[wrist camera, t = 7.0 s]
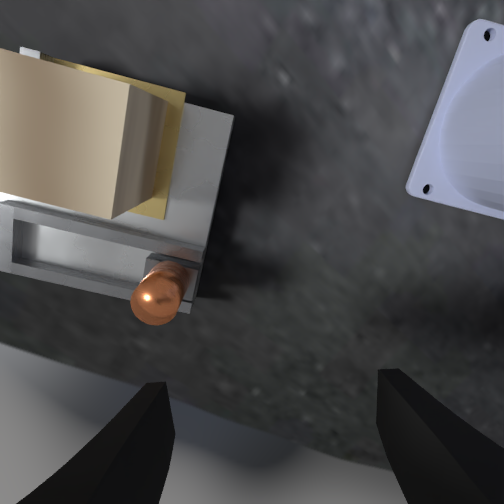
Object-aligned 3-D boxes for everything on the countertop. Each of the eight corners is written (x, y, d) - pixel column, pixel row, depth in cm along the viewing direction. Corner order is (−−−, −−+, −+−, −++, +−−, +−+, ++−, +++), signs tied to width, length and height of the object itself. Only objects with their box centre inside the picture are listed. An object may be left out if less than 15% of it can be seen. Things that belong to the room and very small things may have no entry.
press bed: (237, 108, 17) (234, 103, 15) (195, 297, 20) (188, 317, 18) (-4, 44, 16) (-47, 29, 14) (-9, 250, 19) (-44, 265, 17)
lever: (201, 261, 18) (188, 289, 15) (194, 296, 19) (180, 331, 15) (151, 249, 18) (126, 275, 14) (145, 285, 18) (120, 317, 15)
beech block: (168, 101, 16) (129, 83, 11) (151, 198, 17) (111, 219, 12) (68, 74, 15) (-16, 44, 11) (59, 174, 17) (-19, 187, 12)
